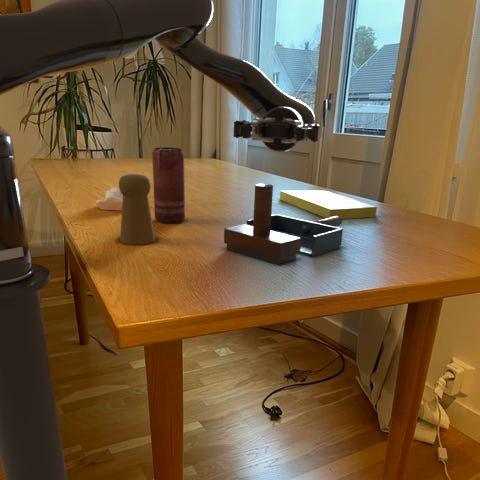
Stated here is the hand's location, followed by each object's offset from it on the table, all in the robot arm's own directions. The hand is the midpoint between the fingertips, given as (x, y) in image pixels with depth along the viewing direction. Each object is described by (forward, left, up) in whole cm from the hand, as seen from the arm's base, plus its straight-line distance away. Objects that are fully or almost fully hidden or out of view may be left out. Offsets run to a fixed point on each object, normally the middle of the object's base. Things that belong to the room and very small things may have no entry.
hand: (271, 132), depth 75 cm
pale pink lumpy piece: (-27, +33, -19) cm, 46 cm away
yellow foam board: (+22, +33, -19) cm, 44 cm away
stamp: (-2, -5, -18) cm, 19 cm away
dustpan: (+10, +5, -18) cm, 21 cm away
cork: (-22, +5, -19) cm, 29 cm away
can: (-16, +20, -19) cm, 31 cm away
